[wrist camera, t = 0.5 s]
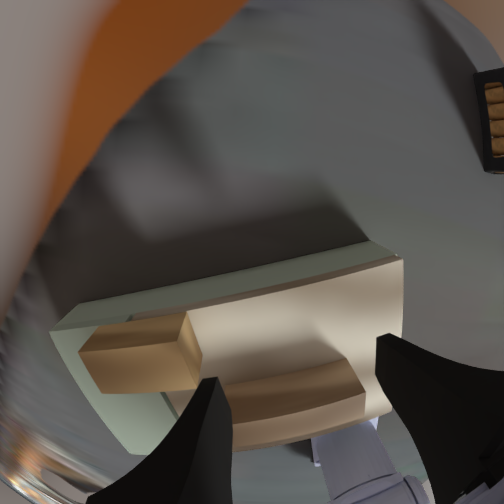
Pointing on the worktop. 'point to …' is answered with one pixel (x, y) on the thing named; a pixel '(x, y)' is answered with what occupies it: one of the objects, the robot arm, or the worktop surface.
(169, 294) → the flat box
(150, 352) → the block
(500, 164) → the ammunition clip
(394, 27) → the worktop surface
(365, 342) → the lid
